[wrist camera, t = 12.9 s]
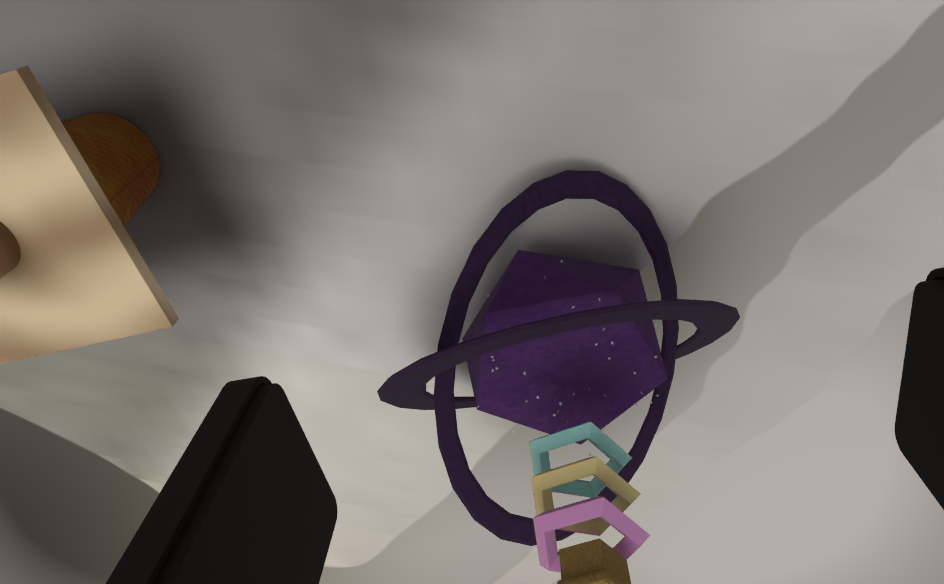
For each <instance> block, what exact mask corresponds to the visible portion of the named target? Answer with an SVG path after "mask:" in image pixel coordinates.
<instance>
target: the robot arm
mask: <svg viewBox="0 0 944 584" xmlns="http://www.w3.org/2000/svg"><path fill="white" fill-rule="evenodd" d="M895 436H896V440H897V443H898V445H899V448H900V450H901V452H902V453H903V455H904V456H905V457H906V459H907V460H908V461H909V463H910V464H911V466H912V467H913V468H914V470H915V471H916V473H917V474H918V475H919V477H920V478H921V479H922V481H923V482H924V483H925V485H926V486H927V487H928V489H929V490H930V491H931V493H932V494H933V496H934V497H935V498H936V500H937V501H938V502H939V504H940V505H941V507H942V508H943V509H944V268H938V269H934V270H933V271H931V272H930V273H929V275H928V276H927V279H926V281H924V282H920V283H918V284H917V286H916V287H915V290H914V294H913V302H912V308H911V315H910V322H909V329H908V337H907V344H906V351H905V358H904V365H903V372H902V379H901V386H900V393H899V400H898V407H897V414H896V421H895ZM336 520H337V503H336V499H335V496H334V494H333V492H332V490H331V488H330V486H329V484H328V482H327V480H326V478H325V475H324V473H323V471H322V469H321V467H320V465H319V463H318V461H317V459H316V457H315V455H314V453H313V451H312V448H311V446H310V444H309V442H308V440H307V438H306V436H305V434H304V432H303V430H302V428H301V426H300V423H299V421H298V419H297V417H296V415H295V413H294V411H293V409H292V407H291V405H290V403H289V401H288V399H287V396H286V394H285V392H284V390H283V389H282V387H281V386H280V385H279V384H276V383H274V384H272V383H271V381H270V380H269V379H268V378H266V377H263V376H260V377H254V378H248V379H242V380H235V381H230V382H228V383H226V385H225V386H224V387H223V388H222V390H221V392H220V393H219V395H218V397H217V399H216V400H215V402H214V404H213V405H212V407H211V409H210V410H209V412H208V414H207V415H206V417H205V419H204V420H203V422H202V424H201V425H200V427H199V429H198V430H197V432H196V434H195V435H194V437H193V439H192V440H191V442H190V444H189V445H188V447H187V449H186V450H185V452H184V454H183V455H182V457H181V459H180V460H179V462H178V464H177V465H176V467H175V469H174V470H173V472H172V474H171V475H170V477H169V479H168V480H167V482H166V484H165V485H164V487H163V489H162V490H161V492H160V494H159V496H158V497H157V499H156V501H155V502H154V504H153V506H152V507H151V509H150V511H149V512H148V514H147V515H146V517H145V519H144V521H143V522H142V524H141V526H140V527H139V529H138V531H137V532H136V534H135V536H134V537H133V539H132V541H131V542H130V544H129V546H128V547H127V549H126V551H125V552H124V554H123V556H122V557H121V559H120V561H119V562H118V564H117V566H116V567H115V569H114V571H113V572H112V574H111V576H110V577H109V579H108V581H107V582H106V584H319V581H320V577H321V574H322V570H323V567H324V563H325V560H326V556H327V552H328V549H329V545H330V542H331V538H332V535H333V531H334V527H335V524H336Z"/></svg>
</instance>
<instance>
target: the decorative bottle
mask: <svg viewBox="0 0 944 584" xmlns="http://www.w3.org/2000/svg"><path fill="white" fill-rule="evenodd" d="M566 198H568V199H595V200H597V201H599V202H602V203H604V204H606V205H608V206H610V207H612V208H614V209H617V210H618V211H619V212H620V213H621V214H622V215H623V216H624V217H625V218H626V219H627V220H628V221H629V222H630V223H631V224H632V225H633V226H634V227H635V229H636V230H637V231H638V232H639V234H640V236H641V238H642V240H643V242H644V244H645V246H646V248H647V250H648V252H649V254H650V256H651V258H652V260H653V264H654V268H655V272H656V276H657V280H658V284H659V288H660V292H661V301H650V302H647V298H646V295H645V291H644V287H643V283H642V279H641V276H640V272H639V270H636V269H630V268H624V267H618V266H612V265H606V264H600V263H594V262H588V261H582V260H576V259H570V258H564V257H558V256H551V255H545V254H539V253H533V252H527V251H521V250H518V251H517V253H516V254H515V256H514V258H513V259H512V261H511V262H510V264H509V266H508V267H507V269H506V270H505V272H504V273H503V275H502V277H501V278H500V280H499V281H498V283H497V285H496V286H495V288H494V289H493V291H492V293H491V294H490V296H489V295H487V297H488V299H487V300H486V302H485V304H484V305H483V307H482V308H481V310H480V312H479V313H478V315H477V316H476V318H475V320H474V321H473V323H472V324H471V326H470V328H469V329H468V331H467V332H466V334H465V335H464V337H463V342H461V343H459V339H460V336H461V332H462V328H463V324H464V321H465V317H466V313H467V309H468V305H469V302H470V300H471V298H472V296H473V294H474V292H475V290H476V287H477V285H478V283H479V281H480V279H481V277H482V275H483V272H484V270H485V268H486V266H487V264H488V263H489V261H490V260H491V259H492V257H493V256H494V255H495V253H496V252H497V250H498V249H499V248H500V246H501V245H502V244H503V242H504V241H505V240H506V238H507V237H508V236H509V234H510V233H511V232H512V231H513V230H514V229H515V228H517V227H518V226H519V225H520V224H521V223H523V222H524V221H525V220H526V219H528V218H529V217H530V216H531V215H532V214H534V213H535V212H536V211H537V210H539V209H541V208H544V207H546V206H549V205H551V204H554V203H556V202H559V201H561V200H564V199H566ZM739 318H740V316H739V313H738V311H737V309H736V308H734V307H731V306H728V305H725V304H722V303H719V302H714V301H703V300H684V299H677V286H676V280H675V276H674V272H673V268H672V264H671V259H670V255H669V251H668V247H667V243H666V241H665V239H664V237H663V235H662V233H661V231H660V229H659V227H658V225H657V223H656V221H655V219H654V217H653V215H652V213H651V211H650V209H649V208H648V207H647V206H646V205H645V204H644V203H643V202H642V201H641V200H640V199H639V197H638V196H637V195H636V194H635V193H634V192H633V191H632V190H631V189H630V188H629V187H628V186H627V185H626V184H624V183H622V182H620V181H618V180H616V179H613V178H611V177H609V176H607V175H605V174H603V173H601V172H599V171H572V170H566V171H564V172H561V173H559V174H556V175H553V176H551V177H548V178H545V179H543V180H540V181H538V182H535V183H533V184H532V185H531V186H529V187H528V188H527V189H526V190H524V191H523V192H522V193H521V194H519V195H518V196H517V197H516V198H515V199H513V200H512V201H511V202H510V203H508V204H507V205H506V206H505V207H503V208H502V209H501V211H500V212H499V213H498V215H497V216H496V217H495V219H494V220H493V221H492V223H491V224H490V225H489V227H488V228H487V229H486V231H485V232H484V233H483V235H482V236H481V237H480V239H479V240H478V241H477V243H476V244H475V245H474V247H473V249H472V251H471V253H470V255H469V257H468V259H467V262H466V264H465V266H464V268H463V270H462V272H461V274H460V276H459V279H458V281H457V283H456V285H455V287H454V289H453V291H452V294H451V298H450V301H449V305H448V309H447V313H446V317H445V320H444V324H443V328H442V332H441V335H440V339H439V343H438V351H437V352H436V353H434V354H431V355H429V356H426V357H424V358H421V359H419V360H417V361H416V362H414V363H412V364H411V365H409V366H407V367H405V368H404V369H402V370H400V371H398V372H397V373H395V374H393V375H392V376H391V377H389V378H388V379H387V380H386V382H385V383H384V384H383V385H382V386H381V387H380V388H379V390H378V391H377V392H378V394H379V397H380V400H381V401H383V402H386V403H389V404H391V405H394V406H397V407H400V408H409V409H419V410H435V415H436V425H437V434H438V444H439V449H440V452H441V455H442V458H443V461H444V464H445V467H446V470H447V473H448V476H449V479H450V482H451V485H452V488H453V489H454V491H455V492H456V494H457V495H458V497H459V498H460V499H461V501H462V503H463V504H464V506H465V507H466V508H467V510H468V511H469V513H470V514H471V516H472V517H473V519H474V520H475V521H477V522H478V523H479V524H481V525H482V526H483V527H485V528H486V529H488V530H489V531H490V532H492V533H493V534H495V535H496V536H497V537H499V538H500V539H502V540H507V541H512V542H516V543H521V544H525V545H529V546H533V545H537V548H538V555H539V561H540V565H541V566H542V567H544V568H546V569H548V570H549V571H555V572H561V580H560V581H558V583H557V584H631V581H630V576H629V571H628V565H627V559H628V558H629V557H630V556H631V555H632V554H633V553H634V552H635V551H636V550H637V549H638V548H639V547H640V546H641V545H642V544H643V543H644V542H645V541H646V539H647V538H648V537H649V536H650V535H649V534H648V533H647V532H646V531H644V530H643V529H642V528H641V527H640V526H638V525H637V524H636V523H635V522H633V521H632V520H631V519H630V518H629V517H627V516H626V515H625V514H624V513H623V512H624V511H625V510H626V509H627V507H628V506H629V505H630V504H631V503H632V502H633V501H634V500H635V499H636V498H637V497H638V496H639V495H640V493H639V492H638V491H637V490H635V489H634V488H633V487H632V486H631V485H630V484H628V483H629V481H630V480H631V478H632V477H633V475H634V474H635V472H636V471H637V469H638V468H639V466H640V465H641V463H642V462H643V460H644V458H645V456H646V454H647V451H648V449H649V447H650V444H651V442H652V440H653V438H654V435H655V433H656V431H657V429H658V426H659V424H660V422H661V420H662V416H663V412H664V409H665V405H666V401H667V397H668V394H669V390H670V386H671V382H672V379H673V374H674V366H675V359H677V358H680V357H682V356H685V355H687V354H690V353H692V352H694V351H696V350H698V349H700V348H702V347H704V346H706V345H708V344H710V343H712V342H714V341H715V340H717V339H718V338H720V337H721V336H723V335H724V334H726V333H727V332H729V331H730V330H731V329H732V327H733V326H734V325H735V324H736V322H737V321H738V320H739ZM653 319H662V322H663V339H662V348H661V352H660V348H659V344H658V340H657V337H656V333H655V329H654V325H653V322H652V320H653ZM678 320H684V321H688V322H692V323H693V324H694V325H695V326H696V327H697V330H696V332H695V334H694V335H692V336H691V337H690V338H688V339H687V340H686V341H685V342H683V343H681V344H679V345H677V339H678V330H679V325H678ZM655 326H657V325H656V324H655ZM465 361H467V363H468V368H469V373H470V378H471V383H472V387H473V392H474V397H454V381H455V370H456V365H457V364H460V363H463V362H465ZM434 376H435V387H434V395H432V394H430V393H429V392H427V391H426V383H427V382H429V381H430V380H431V379H432V378H433V377H434ZM652 390H654V393H653V396H652V400H651V401H650V403H651V404H650V408H649V411H648V414H647V416H646V418H645V420H644V423H643V425H642V427H641V430H640V432H639V434H638V436H637V438H636V441H635V443H634V445H633V447H632V449H631V450H630V452H629V453H628V454H627V453H626V452H625V451H624V450H623V449H622V448H620V447H619V446H618V445H617V444H616V443H615V442H613V440H611V439H610V438H609V437H608V436H607V435H606V434H604V433H603V432H602V431H601V429H602V428H603V427H605V426H606V425H607V424H609V423H610V422H611V421H613V420H614V419H615V418H617V417H618V416H619V415H620V414H622V413H623V412H625V411H626V410H627V409H628V408H630V407H631V406H632V405H634V404H635V403H637V402H638V401H639V400H640V399H642V398H643V397H644V396H646V395H647V394H648V393H650V392H651V391H652ZM635 405H636V404H635ZM470 407H477V410H480V411H483V412H486V413H489V414H492V415H495V416H498V417H501V418H504V419H507V420H510V421H513V422H515V423H519V424H522V425H525V426H528V427H530V428H533V429H536V430H540V431H542V432H545V433H548V434H549V435H546V436H543V437H540V438H537V439H535V440H533V441H530V442H529V443H530V450H531V456H532V464H533V471H534V476H533V477H531V480H532V487H533V494H534V500H535V508H536V514H537V516H536V517H534V518H533V519H532V518H527V517H523V516H519V515H514V514H511V513H509V512H508V511H506V510H505V509H504V508H502V507H501V506H500V505H498V504H497V503H495V502H494V501H493V500H491V499H490V498H489V497H488V496H487V495H486V494H485V492H484V491H483V489H482V487H481V486H480V484H479V483H478V482H477V480H476V478H475V477H474V476H473V474H472V472H471V471H470V469H469V466H468V463H467V460H466V457H465V454H464V451H463V448H462V445H461V442H460V439H459V436H458V431H457V421H456V411H455V409H460V408H470ZM603 431H605V429H603ZM512 432H513V433H514V431H512ZM586 440H589V441H590V442H591V443H592V444H593V445H594V446H596V447H597V448H598V449H599V450H600V451H601V452H603V453H604V454H605V455H606V456H607V457H608V458H610V460H609V462H608V463H607V464H605V463H603V462H602V461H601V460H600V459H599V458H597V457H589V458H586V459H583V460H580V461H577V462H574V463H570V464H567V465H564V466H561V467H557V468H554V469H551V470H550V462H549V454H548V451H549V450H552V449H556V448H558V447H562V446H565V445H568V444H571V443H574V442H575V443H578V444H582V443H584V442H585V441H586ZM590 455H591V453H590ZM591 475H593V476H595V477H594V478H593V479H592V480H591V481H590V482H589V481H583V480H578V479H581V478H584V477H588V476H591ZM552 492H557V493H564V494H571V495H578V496H584V497H591V498H590V499H586V500H583V501H580V502H576V503H573V504H569V505H566V506H562V507H559V508H555V509H554V506H553V499H552ZM610 525H611V526H613V527H614V528H615V529H616V530H618V531H619V532H620V533H621V534H623V535H624V536H625V537H624V538H623V539H622V540H621V541H620V542H619V543H618V544H617V545H616V546H615V547H614V548H613V549H612V548H611V547H610V546H608V545H607V544H606V543H605V542H603V541H602V540H601V539H596V540H592V541H589V542H585V543H581V544H578V545H574V546H570V547H567V548H563V549H560V550H559V552H558V551H557V544H556V541H560V540H563V539H565V538H567V537H568V536H570V535H572V534H574V533H575V532H577V533H584V534H591V535H598V536H600V535H601V534H602V533H603V532H604V531H605V530H606V529H607V528H608V527H609V526H610Z"/></svg>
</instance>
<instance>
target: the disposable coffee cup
mask: <svg viewBox="0 0 944 584" xmlns="http://www.w3.org/2000/svg"><path fill="white" fill-rule="evenodd" d="M61 122H62V124H63V126H64V127H65V129H66V131H67V132H68V134H69V136H70V137H71V139H72V141H73V142H74V144H75V146H76V147H77V149H78V151H79V152H80V154H81V156H82V157H83V159H84V161H85V162H86V164H87V166H88V167H89V169H90V171H91V173H92V174H93V176H94V178H95V179H96V181H97V183H98V184H99V186H100V188H101V189H102V191H103V193H104V194H105V196H106V198H107V199H108V201H109V203H110V204H111V206H112V208H113V209H114V211H115V213H116V214H117V216H118V218H119V219H120V221H121V223H122V224H123V226H124V227H125V225H126V224H127V223H128V222H129V220H130V219H131V218H132V217H133V215H134V214H135V213H136V211H137V210H138V209H139V208H140V206H141V205H142V204H143V203H144V201H145V200H146V199H147V198H148V196H149V195H150V194H151V193H152V192H153V191H154V189H155V188H156V186H157V185H158V181H159V178H160V170H161V169H160V162H159V158H158V156H157V153H156V150H155V148H154V146H153V145H152V143H151V142H150V140H149V139H148V138H147V136H146V135H145V134H144V133H143V132H142V131H141V130H140V129H139V128H138V127H136V126H135V125H133V124H132V123H131V122H129V121H127V120H125V119H123V118H121V117H119V116H116V115H113V114H108V113H90V114H87V115H84V116H80V117H76V118H72V119H68V120H64V121H61Z"/></svg>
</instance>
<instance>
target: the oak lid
mask: <svg viewBox="0 0 944 584" xmlns="http://www.w3.org/2000/svg"><path fill="white" fill-rule="evenodd" d="M178 319H179V318H178V317H177V315H176V313H175V311H174V310H173V308H172V306H171V305H170V303H169V301H168V300H167V298H166V296H165V295H164V293H163V291H162V290H161V288H160V286H159V285H158V283H157V281H156V280H155V278H154V276H153V275H152V273H151V271H150V270H149V268H148V266H147V265H146V263H145V261H144V260H143V258H142V256H141V255H140V253H139V251H138V250H137V248H136V246H135V245H134V243H133V241H132V239H131V238H130V236H129V234H128V233H127V231H126V229H125V228H124V226H123V224H122V223H121V221H120V219H119V218H118V216H117V214H116V213H115V211H114V209H113V208H112V206H111V204H110V203H109V201H108V199H107V198H106V196H105V194H104V193H103V191H102V189H101V188H100V186H99V184H98V183H97V181H96V179H95V178H94V176H93V174H92V173H91V171H90V169H89V167H88V166H87V164H86V162H85V161H84V159H83V157H82V156H81V154H80V152H79V151H78V149H77V147H76V146H75V144H74V142H73V141H72V139H71V137H70V136H69V134H68V132H67V131H66V129H65V127H64V126H63V124H62V122H61V121H60V119H59V117H58V116H57V114H56V112H55V111H54V109H53V107H52V106H51V104H50V102H49V101H48V99H47V97H46V95H45V94H44V92H43V90H42V89H41V87H40V85H39V84H38V82H37V80H36V79H35V77H34V75H33V74H32V72H31V70H30V69H29V67H28V66H25V67H22V68H18V69H15V70H12V71H9V72H5V73H2V74H0V364H1V363H6V362H10V361H15V360H20V359H24V358H29V357H34V356H38V355H43V354H48V353H52V352H57V351H62V350H66V349H71V348H76V347H80V346H85V345H90V344H94V343H99V342H104V341H108V340H113V339H118V338H122V337H127V336H132V335H136V334H141V333H146V332H150V331H155V330H160V329H164V328H169V327H173V325H174V324H175V323H176V322H177V320H178Z"/></svg>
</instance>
